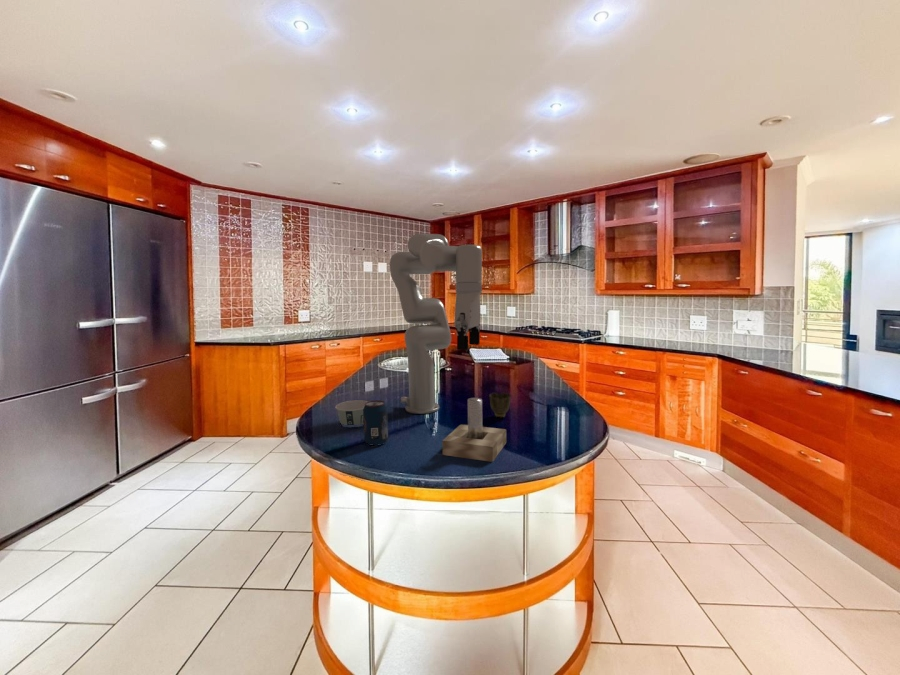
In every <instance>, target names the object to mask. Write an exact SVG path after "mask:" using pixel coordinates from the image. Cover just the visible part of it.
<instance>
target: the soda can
mask: <svg viewBox="0 0 900 675" xmlns="http://www.w3.org/2000/svg"><path fill="white" fill-rule="evenodd" d="M363 419H364V426H363V431H364V432H363V433H364V434H363V437H364V442H365V443H366V444H367V443H368V444H373V445H378V444H383V443H385V442H386V443H387V441H388V440H389V420H388V408H387V405H386V402H385V401H383V400H370V401H369V402H366V403H365V406H364V409H363ZM386 443H385V444H386ZM368 444H367V445H368Z"/></svg>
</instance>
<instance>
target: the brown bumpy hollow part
mask: <svg viewBox="0 0 900 675" xmlns="http://www.w3.org/2000/svg"><path fill="white" fill-rule="evenodd" d="M488 397H489V404H490V409H491V411H492V412H493V413H494V417H495V418H497V417H500V418H499V419H502V417H503V418H505V417H506V413H508V411H509V410H510V406H511V394H510V393H507V392H500V393H499V394H498V392H492V393H490V394H489V395H488Z"/></svg>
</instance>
